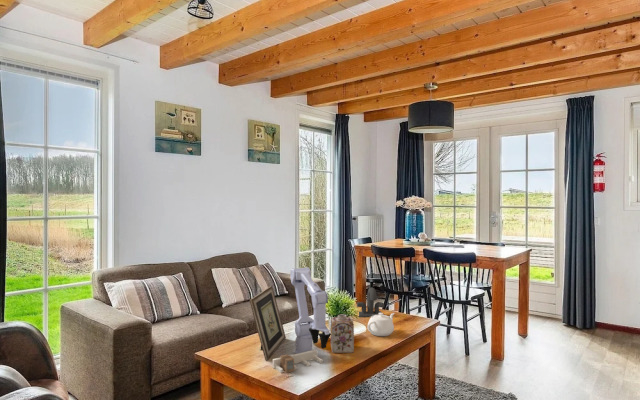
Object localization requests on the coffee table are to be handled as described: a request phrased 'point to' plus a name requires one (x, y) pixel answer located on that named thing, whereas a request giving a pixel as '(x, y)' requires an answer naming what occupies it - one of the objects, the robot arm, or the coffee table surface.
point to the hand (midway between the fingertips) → (319, 345)
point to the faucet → (370, 304)
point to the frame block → (287, 363)
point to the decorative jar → (342, 334)
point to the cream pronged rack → (298, 359)
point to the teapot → (381, 325)
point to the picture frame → (268, 321)
